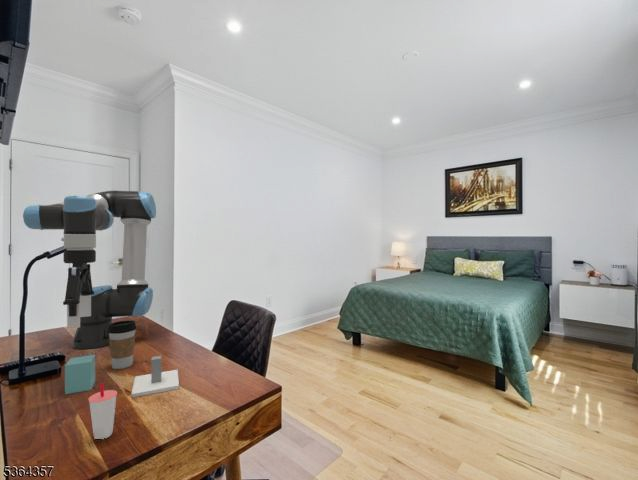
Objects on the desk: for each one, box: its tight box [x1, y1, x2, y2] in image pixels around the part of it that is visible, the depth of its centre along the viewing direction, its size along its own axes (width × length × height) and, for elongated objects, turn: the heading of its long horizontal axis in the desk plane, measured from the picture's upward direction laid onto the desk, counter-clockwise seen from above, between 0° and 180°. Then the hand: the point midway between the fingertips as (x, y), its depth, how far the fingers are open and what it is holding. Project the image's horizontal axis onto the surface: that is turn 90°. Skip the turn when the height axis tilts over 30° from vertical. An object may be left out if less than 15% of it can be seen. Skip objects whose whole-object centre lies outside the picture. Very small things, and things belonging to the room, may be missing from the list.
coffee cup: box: [108, 320, 137, 370], centre depth 108 cm, size 8×8×15 cm
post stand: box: [131, 355, 180, 399], centre depth 94 cm, size 12×12×8 cm
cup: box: [87, 382, 118, 440], centre depth 70 cm, size 5×5×12 cm
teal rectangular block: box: [64, 354, 96, 395], centre depth 92 cm, size 6×6×8 cm
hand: (80, 321), depth 92 cm, fingers open, 13 cm apart
